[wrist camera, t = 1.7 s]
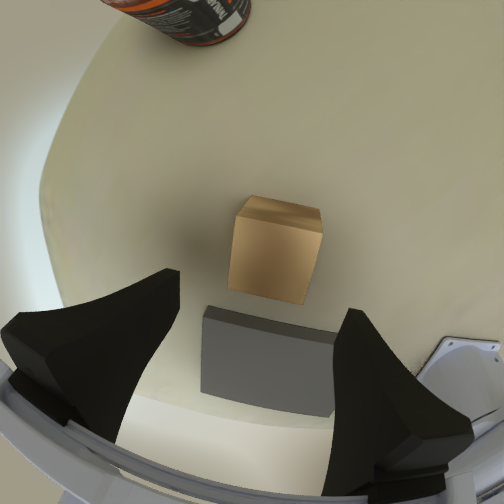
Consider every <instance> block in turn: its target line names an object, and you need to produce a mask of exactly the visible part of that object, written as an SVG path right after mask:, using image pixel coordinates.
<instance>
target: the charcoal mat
mask: <svg viewBox="0 0 504 504" xmlns="http://www.w3.org/2000/svg"><path fill="white" fill-rule="evenodd" d="M337 335H338V333H333V332H327V331H322V330H316V329H311V328H306V327H300V326H295V325H290V324H286V323H281V322H276V321H271V320H267V319H262V318H258V317H253V316H249V315H245V314H240V313H236V312H232V311H228V310H224V309H220V308H216V307H212V306H208V308H207V310H206V312H205V313H204V315H203V324H202V351H201V392H202V393H206V394H209V395H213V396H217V397H220V398H224V399H228V400H232V401H236V402H240V403H245V404H249V405H253V406H258V407H263V408H268V409H273V410H279V411H285V412H291V413H297V414H304V415H311V416H319V417H328V418H329V416H330V415H331V414H332V412H333V411H334V410H335V397H334V380H333V346H334V341H335V339H336V337H337Z"/></svg>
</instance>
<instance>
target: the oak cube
mask: <svg viewBox="0 0 504 504" xmlns="http://www.w3.org/2000/svg"><path fill="white" fill-rule="evenodd" d="M322 236H323V230H322V223H321V217H320V210H319V209H316V208H312V207H307V206H302V205H298V204H293V203H288V202H283V201H278V200H273V199H268V198H263V197H258V196H253V195H252V196H251V197H250V198H249V200H248V201H247V202H246V203H245V205H244V206H243V207H242V209H241V210H240V211H239V212H238V214H237V215H236V219H235V227H234V235H233V243H232V251H231V259H230V267H229V276H228V284H227V289H231V290H235V291H240V292H244V293H248V294H253V295H257V296H262V297H266V298H271V299H275V300H280V301H285V302H290V303H294V304H299V305H303V303H304V300H305V296H306V293H307V290H308V286H309V283H310V280H311V276H312V273H313V269H314V266H315V262H316V259H317V255H318V251H319V248H320V244H321V240H322Z"/></svg>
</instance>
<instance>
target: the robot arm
mask: <svg viewBox="0 0 504 504" xmlns="http://www.w3.org/2000/svg"><path fill="white" fill-rule="evenodd" d="M179 310H180V271H177V270H173V269H169V268H166V269H163V270H161V271H159V272H157V273H155V274H153V275H151V276H149V277H147V278H145V279H143V280H141V281H139V282H137V283H135V284H133V285H131V286H128V287H126V288H124V289H121V290H119V291H117V292H115V293H112V294H110V295H107V296H105V297H102V298H99V299H96V300H93V301H90V302H87V303H83V304H79V305H75V306H71V307H67V308H61V309H56V310H49V311H38V312H19V313H18V314H17V315H16V316H15V317H14V318H13V319H12V320H10V321H9V322H8V323H7V324H6V325H5V326H4V327H3V328H2V329H1V332H0V333H1V338H2V341H3V344H4V346H5V348H6V349H7V351H8V353H9V355H10V356H11V358H12V360H13V362H14V363H15V365H16V367H17V369H16V370H15V371H14V372H13V371H12V370H11V369H10V368H9V366H7V365H6V364H5V363H4V362H3V361H2V360H1V359H0V434H1V435H2V436H3V437H4V438H5V439H6V440H7V441H8V442H9V443H10V444H11V445H12V446H13V447H14V448H15V449H16V450H17V451H18V452H19V453H21V454H22V455H23V456H24V457H25V458H26V459H27V460H28V461H29V462H31V463H32V464H33V465H34V466H35V467H36V468H38V469H39V470H40V471H41V472H42V473H44V474H45V475H46V476H47V477H49V478H50V479H51V480H53V481H54V482H55V483H57V484H58V485H59V486H61V487H62V488H64V489H65V491H64V493H63V495H62V497H61V498H60V501H59V502H58V504H198V503H194V502H191V501H187V500H184V499H181V498H178V497H175V496H172V495H169V494H166V493H163V492H160V491H158V490H155V489H152V488H150V487H147V486H145V485H143V484H140V483H138V482H135V481H133V480H131V479H128V478H126V477H124V476H123V475H122V474H121V473H120V471H119V469H117V468H115V467H114V466H116V467H118V468H120V469H122V470H124V471H126V472H128V473H131V474H133V475H135V476H137V477H139V478H142V479H144V480H147V481H149V482H152V483H154V484H157V485H159V486H162V487H164V488H167V489H171V490H173V491H176V492H179V493H182V494H186V495H188V496H192V497H195V498H199V499H202V500H206V501H210V502H214V503H218V504H504V485H503V486H501V487H500V488H498V489H496V490H494V491H493V492H491V493H489V494H487V495H485V496H483V497H481V498H480V499H477V500H476V498H477V497H479V496H480V495H482V494H484V493H486V492H488V491H490V490H492V489H493V488H495V487H497V486H499V485H500V484H502V483H504V363H503V361H502V359H501V357H500V356H499V354H498V350H499V349H500V347H501V343H500V342H492V341H480V340H470V339H460V338H451V337H447V338H445V339H443V341H442V342H441V344H440V345H439V347H438V348H437V350H436V351H435V353H434V354H433V355H432V357H431V358H430V360H429V361H428V363H427V364H426V365H425V367H424V368H423V369H422V371H421V372H420V373H419V375H418V376H417V377H416V378H415V377H414V376H413V375H412V374H411V372H410V371H409V370H408V369H407V368H406V367H405V366H404V365H403V364H402V363H401V361H400V360H399V359H398V358H397V357H396V355H395V354H394V353H393V352H392V350H391V349H390V348H389V346H388V345H387V344H386V342H385V341H384V340H383V338H382V337H381V335H380V334H379V333H378V331H377V330H376V328H375V327H374V326H373V324H372V323H371V321H370V320H369V318H368V317H367V316H366V314H365V313H364V312H363V311H362V310H357V309H352V308H349V309H348V312H347V314H346V316H345V319H344V321H343V323H342V326H341V328H340V330H339V333H338V335H337V337H336V339H335V341H334V346H333V380H334V397H335V421H334V432H333V440H332V448H331V454H330V460H329V465H328V471H327V475H326V479H325V483H324V487H323V491H322V494H321V496H303V495H302V496H301V495H291V494H280V493H273V492H265V491H259V490H253V489H248V488H242V487H237V486H232V485H228V484H223V483H219V482H215V481H211V480H208V479H204V478H200V477H197V476H194V475H190V474H187V473H184V472H181V471H178V470H175V469H172V468H169V467H167V466H164V465H161V464H159V463H156V462H153V461H151V460H148V459H146V458H143V457H141V456H139V455H137V454H134V453H132V452H130V451H128V450H126V449H123V448H121V447H119V446H117V445H115V442H116V438H117V435H118V432H119V429H120V426H121V422H122V420H123V417H124V414H125V412H126V409H127V407H128V404H129V402H130V399H131V397H132V395H133V392H134V390H135V388H136V386H137V383H138V381H139V379H140V377H141V375H142V373H143V371H144V369H145V367H146V366H147V364H148V362H149V361H150V359H151V358H152V356H153V355H154V353H155V351H156V350H157V348H158V347H159V345H160V344H161V342H162V341H163V339H164V338H165V336H166V335H167V333H168V332H169V330H170V328H171V327H172V325H173V323H174V321H175V318H176V316H177V314H178V312H179ZM107 462H108V463H107ZM109 463H110V464H112V465H114V466H112V465H110V464H109Z"/></svg>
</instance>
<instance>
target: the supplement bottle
mask: <svg viewBox="0 0 504 504" xmlns="http://www.w3.org/2000/svg"><path fill="white" fill-rule="evenodd" d="M101 1H102V2H103V3H105V4H107V5H110V6H111V7H113V8H115V9H117V10H120V11H122V12H124V13H126V14H128V15H130V16H133V17H135V18H137V19H139V20H141V21H143V22H145V23H146V24H148V25H150V26H152V27H154V28H156V29H158V30H160V31H161V32H163V33H165V34H167V35H169V36H170V37H172V38H174V39H176V40H178V41H180V42H182V43H184V44H188V45H196V46H201V45H209V44H213V43H217V42H220V41H222V40H224V39H226V38H228V37H229V36H231V35H233V34H234V33H235V32H236V31H238V30H239V29H240V28H241V26H242V25H243V24H244V23H245V22H246V20H247V18H248V16H249V13H250V8H251V1H250V0H101Z"/></svg>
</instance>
